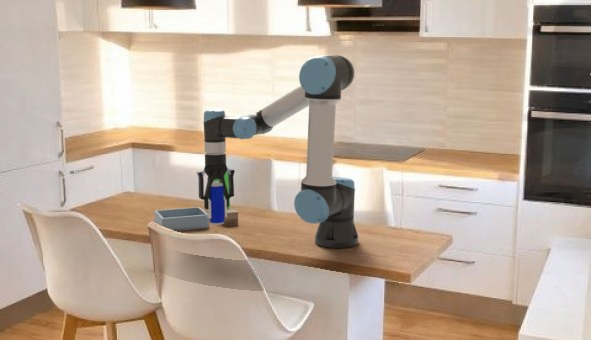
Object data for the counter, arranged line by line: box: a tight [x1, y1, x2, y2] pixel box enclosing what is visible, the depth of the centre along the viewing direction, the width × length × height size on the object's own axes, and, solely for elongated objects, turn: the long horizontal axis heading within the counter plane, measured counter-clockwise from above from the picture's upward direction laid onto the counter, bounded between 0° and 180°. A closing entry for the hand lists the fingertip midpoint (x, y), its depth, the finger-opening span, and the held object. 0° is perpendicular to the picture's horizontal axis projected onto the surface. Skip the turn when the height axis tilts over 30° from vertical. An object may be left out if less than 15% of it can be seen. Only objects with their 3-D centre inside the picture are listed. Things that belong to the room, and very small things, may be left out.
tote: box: [153, 206, 210, 232], centre depth 281 cm, size 14×18×5 cm
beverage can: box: [209, 181, 224, 226], centre depth 269 cm, size 5×5×15 cm
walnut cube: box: [222, 208, 239, 227], centre depth 285 cm, size 5×5×5 cm
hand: (217, 216), depth 269 cm, fingers closed on beverage can, 5 cm apart
